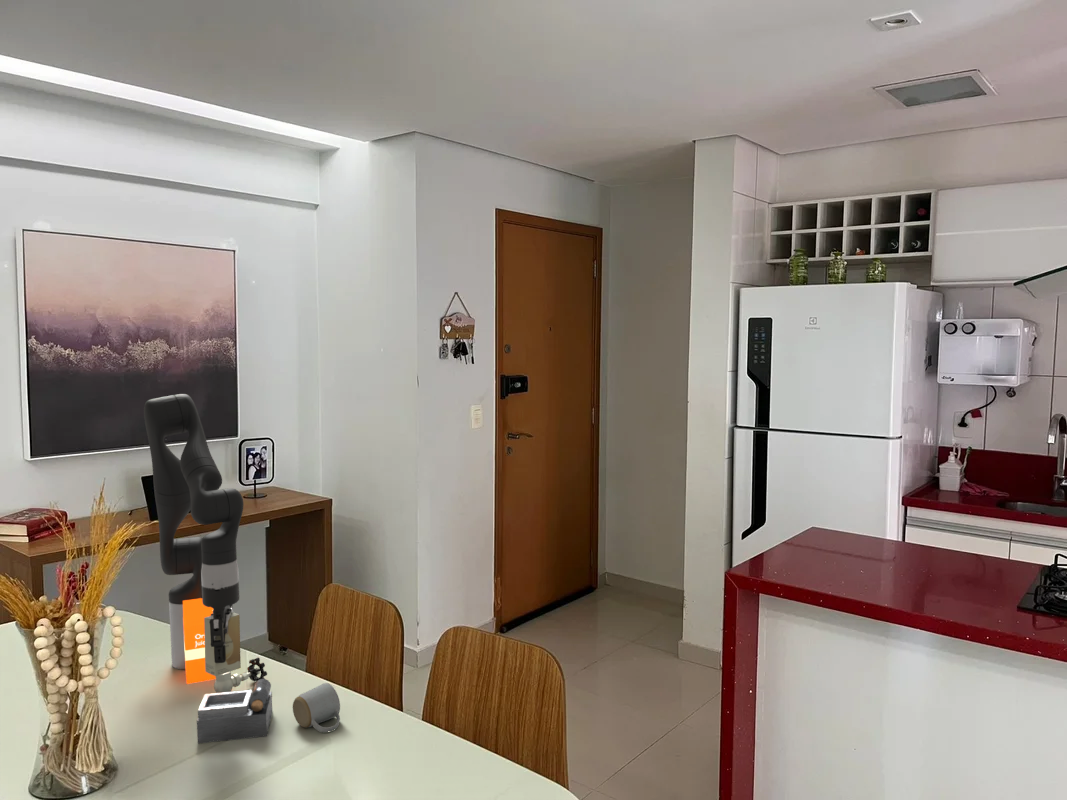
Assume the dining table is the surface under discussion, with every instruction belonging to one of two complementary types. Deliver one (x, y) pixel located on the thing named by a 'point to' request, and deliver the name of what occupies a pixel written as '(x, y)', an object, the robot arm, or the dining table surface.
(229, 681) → the valve
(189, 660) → the orange juice
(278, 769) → the dining table surface
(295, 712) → the ceramic mug
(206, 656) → the skincare box
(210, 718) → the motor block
